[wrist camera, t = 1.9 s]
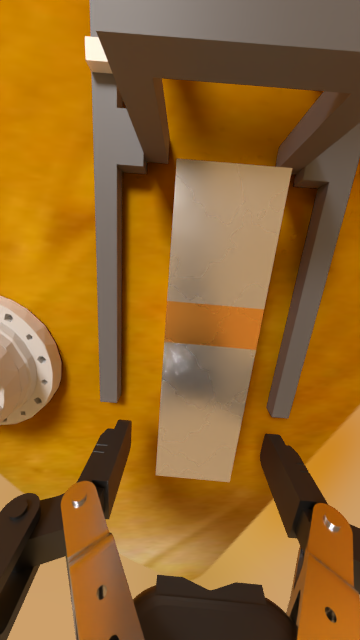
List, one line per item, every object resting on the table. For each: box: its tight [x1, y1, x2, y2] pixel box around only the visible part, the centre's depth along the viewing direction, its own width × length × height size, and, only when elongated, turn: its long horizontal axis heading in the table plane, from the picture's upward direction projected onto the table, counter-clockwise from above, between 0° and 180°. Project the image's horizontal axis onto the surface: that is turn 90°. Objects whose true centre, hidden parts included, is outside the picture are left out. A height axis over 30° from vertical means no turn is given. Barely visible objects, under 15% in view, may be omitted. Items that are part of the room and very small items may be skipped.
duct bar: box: [156, 159, 292, 482], centre depth 12 cm, size 16×4×4 cm, turn 175°
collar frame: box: [85, 0, 360, 418], centre depth 9 cm, size 26×14×7 cm, turn 175°
